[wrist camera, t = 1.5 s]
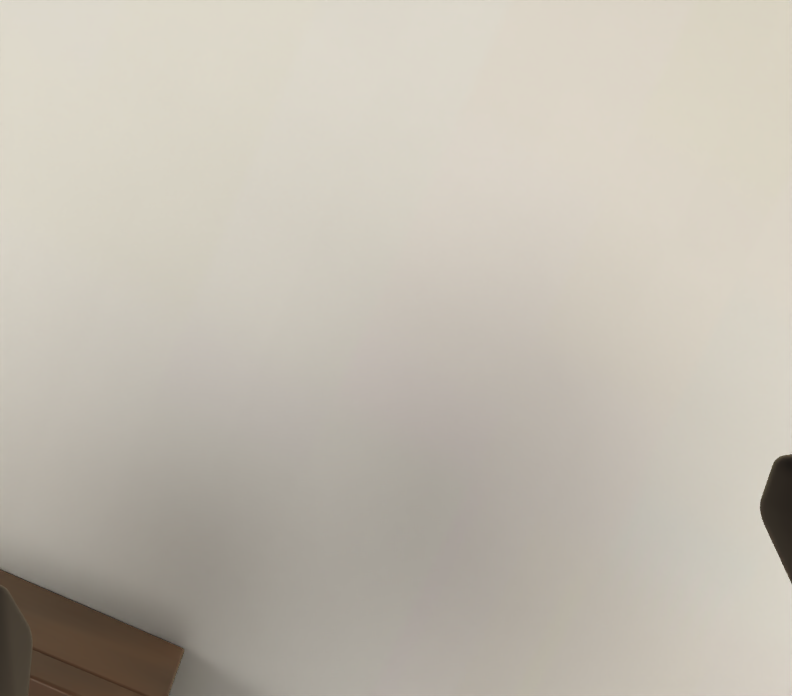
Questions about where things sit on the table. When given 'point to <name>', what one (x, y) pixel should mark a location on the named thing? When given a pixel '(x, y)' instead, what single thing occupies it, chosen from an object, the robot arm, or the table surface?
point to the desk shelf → (89, 649)
